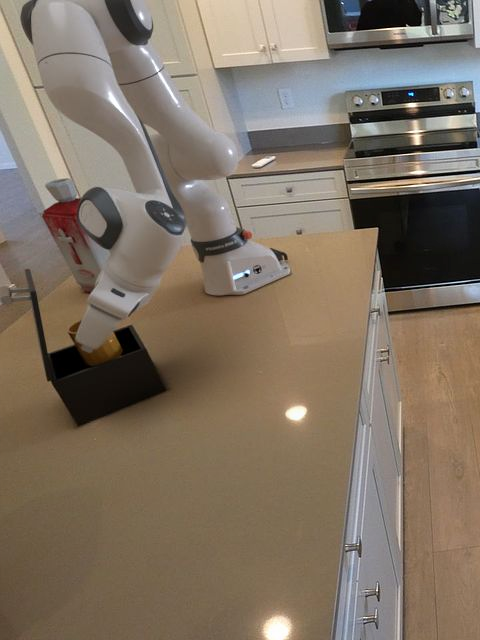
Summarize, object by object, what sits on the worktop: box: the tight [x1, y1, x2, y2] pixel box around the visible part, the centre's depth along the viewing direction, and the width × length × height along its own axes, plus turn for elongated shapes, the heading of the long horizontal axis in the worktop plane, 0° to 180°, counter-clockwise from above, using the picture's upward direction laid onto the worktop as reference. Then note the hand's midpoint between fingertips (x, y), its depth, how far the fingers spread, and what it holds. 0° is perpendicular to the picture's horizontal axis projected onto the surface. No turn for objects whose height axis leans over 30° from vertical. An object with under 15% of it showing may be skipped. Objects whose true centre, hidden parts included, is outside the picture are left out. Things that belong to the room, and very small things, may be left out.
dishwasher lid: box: [0, 268, 53, 382], centre depth 99 cm, size 16×14×5 cm
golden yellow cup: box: [66, 319, 123, 366], centre depth 107 cm, size 6×6×8 cm
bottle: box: [41, 177, 110, 293], centre depth 151 cm, size 14×10×30 cm
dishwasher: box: [48, 324, 167, 427], centre depth 110 cm, size 16×14×10 cm
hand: (95, 339), depth 107 cm, fingers closed on golden yellow cup, 6 cm apart
